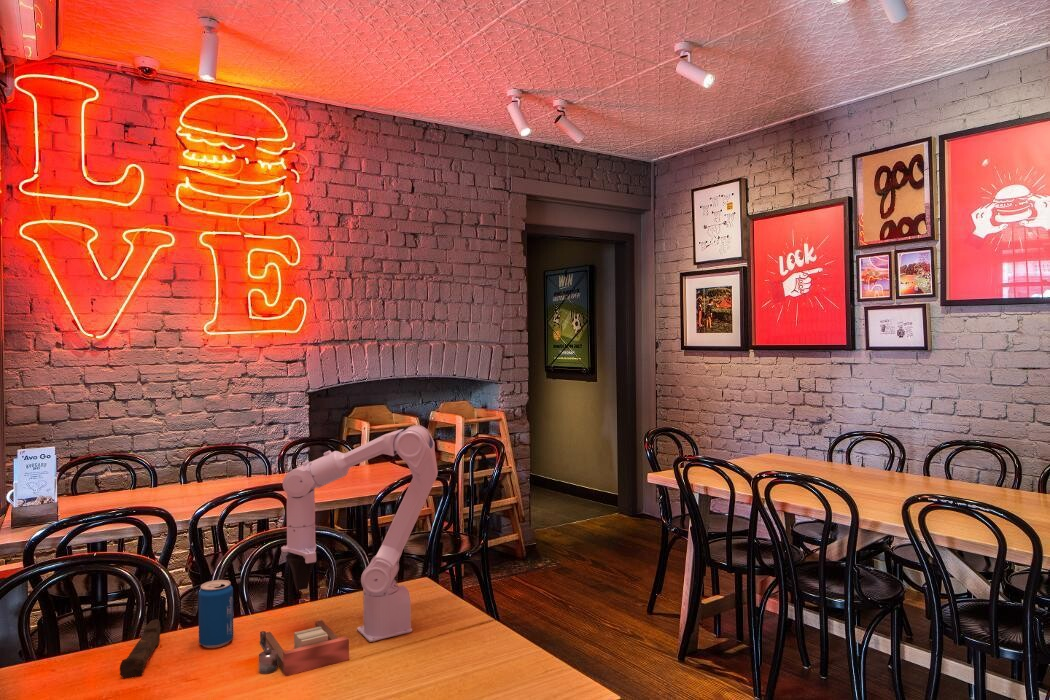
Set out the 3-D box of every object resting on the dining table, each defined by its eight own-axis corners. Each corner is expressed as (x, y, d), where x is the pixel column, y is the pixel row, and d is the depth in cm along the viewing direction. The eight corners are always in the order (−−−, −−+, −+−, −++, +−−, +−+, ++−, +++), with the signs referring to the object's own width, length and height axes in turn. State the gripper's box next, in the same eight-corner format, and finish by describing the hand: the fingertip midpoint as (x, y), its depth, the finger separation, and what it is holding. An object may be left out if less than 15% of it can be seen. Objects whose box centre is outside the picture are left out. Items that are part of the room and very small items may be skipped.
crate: (319, 651, 138) (319, 625, 138) (328, 661, 134) (328, 634, 134) (294, 658, 136) (294, 631, 136) (302, 668, 131) (301, 640, 131)
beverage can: (220, 650, 139) (219, 590, 139) (191, 648, 140) (191, 588, 140) (240, 637, 145) (239, 580, 145) (212, 635, 147) (211, 578, 147)
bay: (321, 629, 149) (321, 610, 149) (349, 659, 134) (348, 638, 134) (263, 642, 143) (263, 623, 142) (285, 676, 128) (284, 654, 128)
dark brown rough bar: (143, 678, 128) (143, 653, 128) (119, 680, 127) (119, 655, 127) (172, 637, 147) (171, 615, 147) (151, 639, 146) (151, 616, 146)
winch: (271, 658, 135) (270, 629, 135) (279, 670, 130) (278, 640, 130) (253, 662, 133) (253, 633, 133) (261, 675, 128) (260, 644, 128)
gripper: (273, 520, 151) (273, 582, 151) (290, 534, 139) (291, 602, 139) (306, 515, 155) (306, 576, 155) (326, 529, 143) (326, 595, 143)
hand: (301, 588), depth 147 cm, fingers closed
